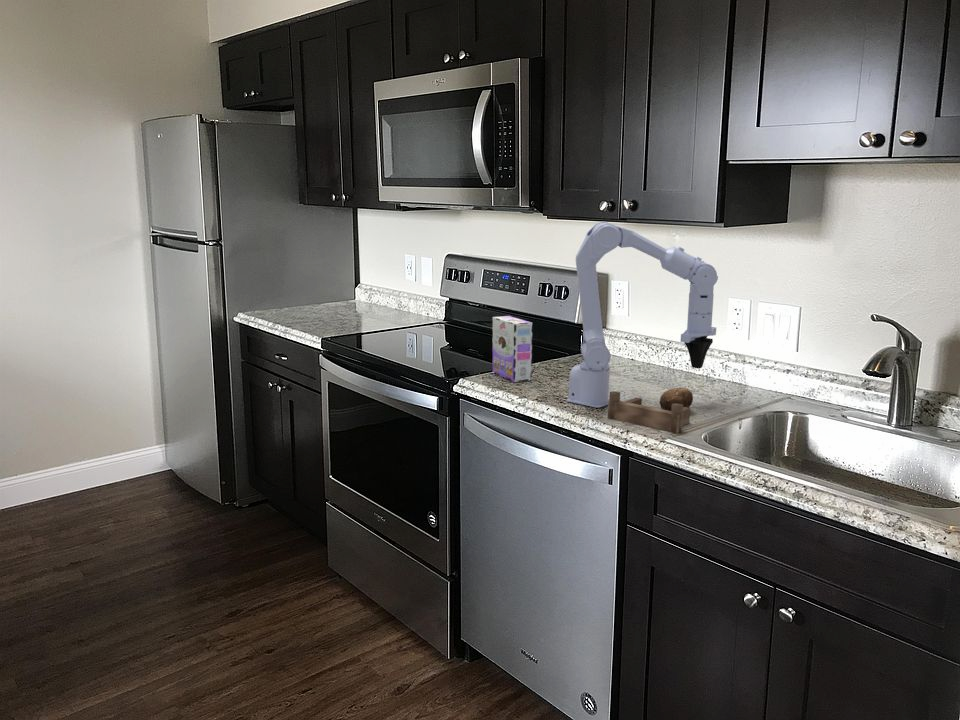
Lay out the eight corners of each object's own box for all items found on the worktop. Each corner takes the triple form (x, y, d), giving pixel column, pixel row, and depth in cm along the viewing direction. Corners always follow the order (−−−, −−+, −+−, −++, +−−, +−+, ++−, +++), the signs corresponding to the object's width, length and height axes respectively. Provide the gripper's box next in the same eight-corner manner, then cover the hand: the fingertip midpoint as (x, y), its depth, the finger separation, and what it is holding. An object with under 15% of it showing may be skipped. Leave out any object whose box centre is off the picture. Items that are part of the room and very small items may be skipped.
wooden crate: (606, 417, 193) (607, 392, 192) (627, 409, 200) (628, 385, 199) (678, 433, 181) (679, 406, 180) (698, 424, 188) (699, 399, 187)
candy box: (532, 381, 229) (533, 321, 225) (513, 383, 226) (514, 323, 223) (509, 371, 241) (510, 314, 238) (491, 372, 238) (491, 316, 235)
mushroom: (690, 393, 203) (682, 376, 199) (702, 413, 196) (694, 396, 193) (660, 408, 204) (652, 390, 201) (671, 428, 198) (662, 411, 194)
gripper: (701, 317, 193) (697, 375, 196) (729, 311, 204) (725, 365, 207) (673, 314, 198) (670, 370, 201) (702, 308, 208) (699, 361, 211)
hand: (696, 367), depth 204 cm, fingers closed
